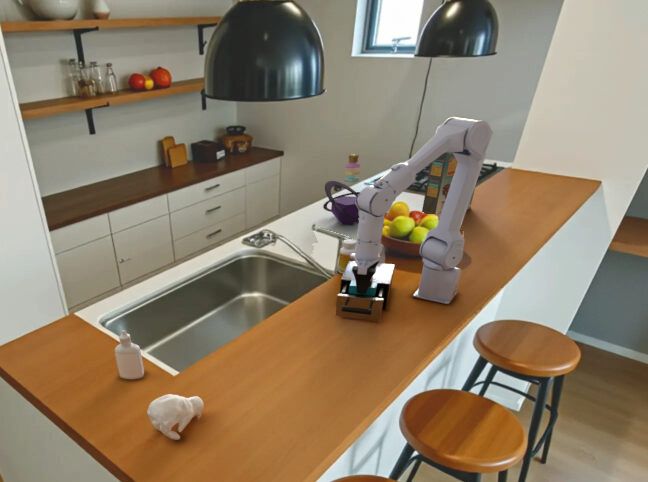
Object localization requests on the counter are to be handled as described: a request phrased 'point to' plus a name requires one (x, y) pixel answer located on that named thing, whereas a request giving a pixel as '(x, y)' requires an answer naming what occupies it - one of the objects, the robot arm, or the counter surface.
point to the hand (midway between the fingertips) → (362, 289)
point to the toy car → (370, 290)
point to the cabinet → (381, 277)
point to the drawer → (360, 304)
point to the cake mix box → (440, 183)
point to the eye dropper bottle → (129, 358)
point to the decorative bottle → (345, 196)
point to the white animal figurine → (174, 413)
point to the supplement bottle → (346, 254)
